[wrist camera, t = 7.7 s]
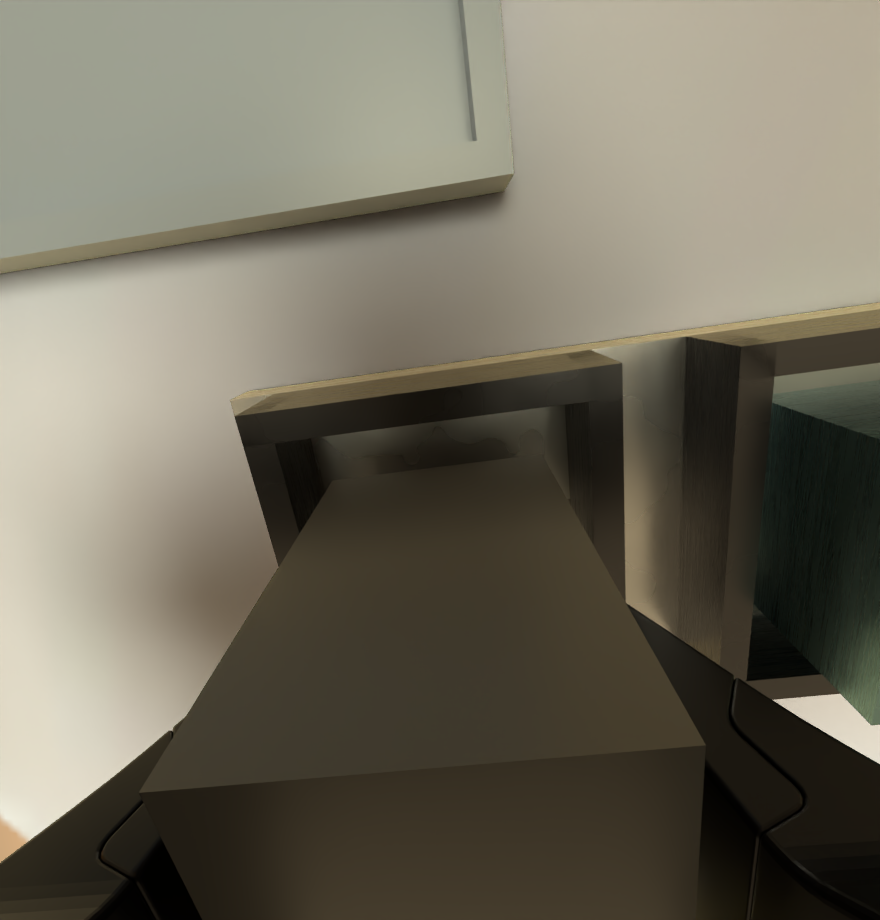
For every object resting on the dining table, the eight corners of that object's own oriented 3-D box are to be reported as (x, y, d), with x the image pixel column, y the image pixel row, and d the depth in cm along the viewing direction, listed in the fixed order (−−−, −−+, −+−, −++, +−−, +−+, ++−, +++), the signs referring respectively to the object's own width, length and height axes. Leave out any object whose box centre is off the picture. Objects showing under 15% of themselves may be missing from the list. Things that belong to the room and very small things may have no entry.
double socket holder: (1038, 280, 10) (1528, 270, 6) (958, 588, 13) (1247, 756, 8) (247, 391, 12) (109, 460, 7) (320, 653, 14) (257, 832, 9)
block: (541, 454, 9) (704, 745, 3) (557, 665, 10) (683, 1105, 5) (332, 480, 9) (137, 793, 3) (380, 683, 11) (302, 1118, 5)
